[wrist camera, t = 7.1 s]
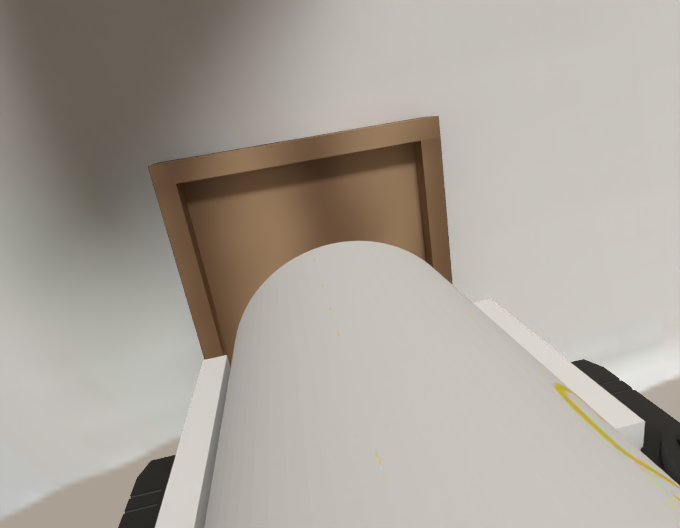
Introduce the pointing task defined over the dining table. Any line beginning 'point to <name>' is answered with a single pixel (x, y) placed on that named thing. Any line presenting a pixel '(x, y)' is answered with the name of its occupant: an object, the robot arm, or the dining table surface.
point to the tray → (297, 211)
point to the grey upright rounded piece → (409, 413)
